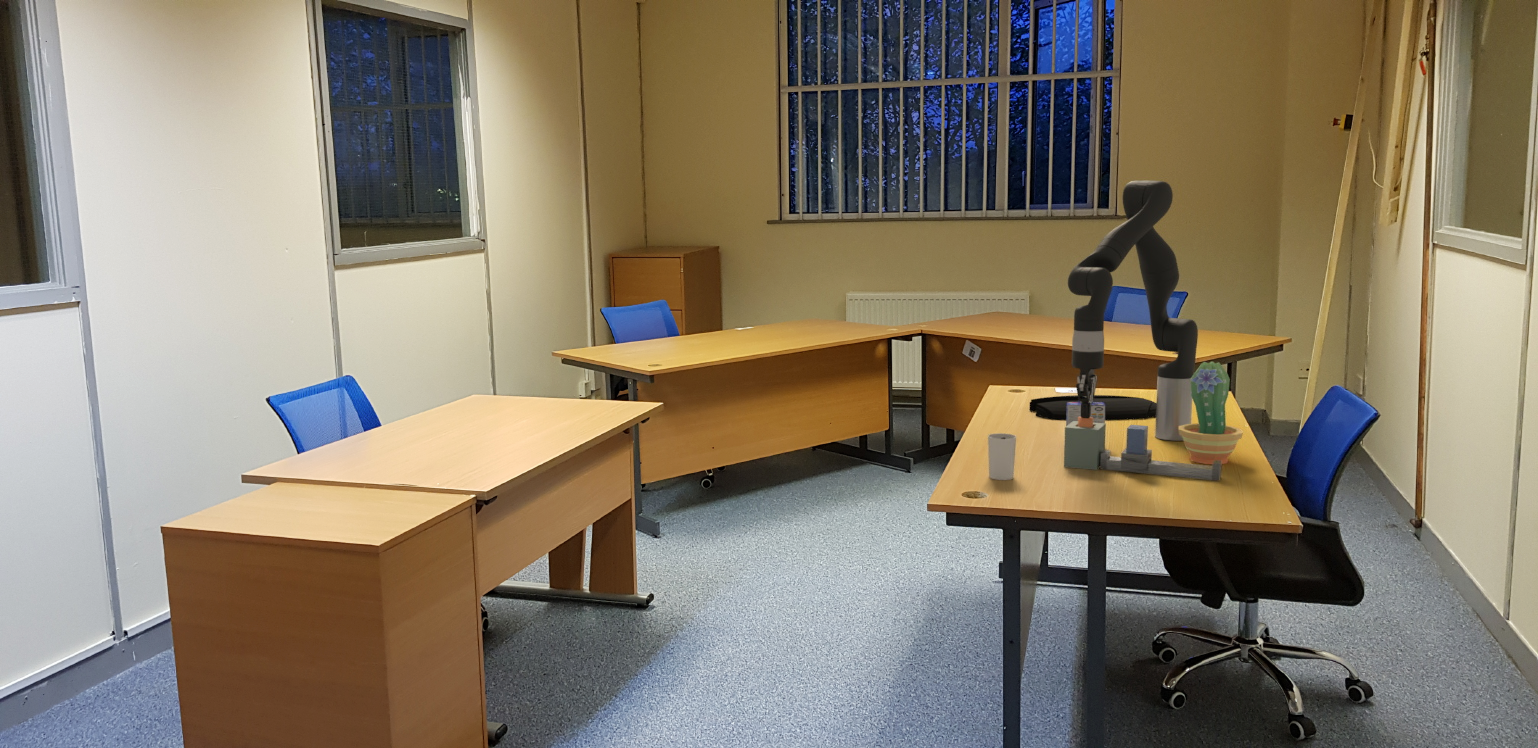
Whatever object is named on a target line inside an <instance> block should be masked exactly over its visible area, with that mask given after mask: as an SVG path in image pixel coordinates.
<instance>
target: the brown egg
mask: <svg viewBox="0 0 1538 748" xmlns="http://www.w3.org/2000/svg"><path fill="white" fill-rule="evenodd" d="M1078 427H1089V428H1093V417H1090V418H1081V416H1080V417H1078Z"/></svg>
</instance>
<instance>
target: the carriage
mask: <svg viewBox="0 0 1538 748" xmlns="http://www.w3.org/2000/svg"><path fill="white" fill-rule="evenodd" d="M1148 432H1149V426H1148V425H1141V424H1140V425H1139V424H1130V425H1129V426H1128V427H1127V428H1126V444H1125V445H1126V446H1125V448H1124V449H1123V450H1122V452H1121V453H1120V457H1121V469H1125V470H1135V471H1145V472H1147V466H1148V462H1149V460H1152V454H1153V450H1152V449H1148V438H1149V437H1148V435H1149V433H1148Z"/></svg>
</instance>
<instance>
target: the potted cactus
mask: <svg viewBox="0 0 1538 748" xmlns="http://www.w3.org/2000/svg"><path fill="white" fill-rule="evenodd" d="M1230 380H1231V379H1230V377H1229V374H1228V372H1227V371H1226V369H1225V368H1224V367H1223V365H1222V364H1221V363H1220V362H1214V361H1210V362H1206V361H1203V362H1201V363H1200V365H1199V367H1198V368H1197V369H1196V370H1195V372H1194V373H1193V376H1192V377H1191V396H1192V402H1193V403H1194V407H1195V411H1196V416H1197V421H1198V423H1191V424H1185V425H1181V426H1179V435H1181V436H1182V437H1183V440H1182V441H1183V444H1184V447H1185V448H1186V450H1187V452H1188V453H1189V454H1190V458H1189V460H1190V461H1192V462H1194V463H1197V464H1202V465H1213V462H1214V460H1221V465H1224V464H1228V461H1229V460H1228V457H1229V456H1230V455H1231V454H1232V453H1233V451H1235V449H1236V446H1237V444H1238V442H1239V440H1242V437H1243V435H1244V431H1243V429H1241V428H1238V427H1235V426H1232V425H1226V424H1227V423H1226V422H1227V421H1226V403H1227V400H1228V397H1229V392H1230V382H1231V381H1230Z"/></svg>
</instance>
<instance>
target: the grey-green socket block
mask: <svg viewBox="0 0 1538 748" xmlns="http://www.w3.org/2000/svg"><path fill="white" fill-rule="evenodd" d="M1106 428H1107V427H1106V422H1105V423H1094V422H1093V428H1089V427H1078V421H1073V422H1071V423H1070V424H1069V425H1067V426H1066V425H1065V427H1064V446H1063V447H1064V451H1063V452H1064V453H1063V455H1064V456H1063V459H1064V460H1063V467H1064V468H1072V469H1081V470H1089V471H1090V470H1091V471H1092V470H1093V471H1098V470H1099V469H1100V461H1101V452H1102V451H1103V450H1106V430H1107V429H1106Z"/></svg>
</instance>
